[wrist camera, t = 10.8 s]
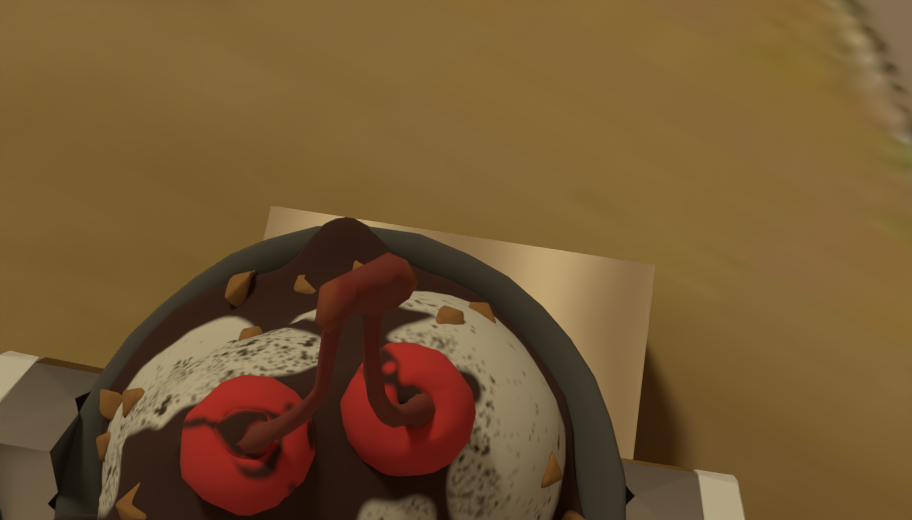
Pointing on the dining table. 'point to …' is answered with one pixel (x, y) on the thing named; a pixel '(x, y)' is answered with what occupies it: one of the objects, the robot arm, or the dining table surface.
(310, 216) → the block
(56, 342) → the dining table surface
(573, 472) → the sundae
